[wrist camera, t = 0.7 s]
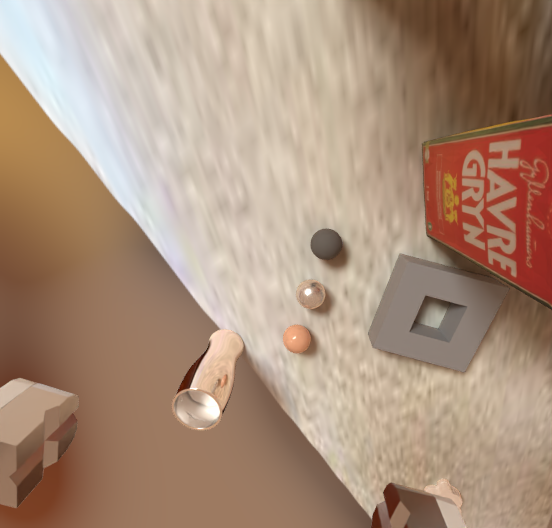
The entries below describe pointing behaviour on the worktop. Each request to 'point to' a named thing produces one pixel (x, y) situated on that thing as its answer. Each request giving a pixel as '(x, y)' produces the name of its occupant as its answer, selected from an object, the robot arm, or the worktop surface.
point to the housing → (456, 323)
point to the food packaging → (495, 200)
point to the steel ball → (310, 294)
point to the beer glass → (208, 382)
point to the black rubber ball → (326, 244)
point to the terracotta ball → (296, 338)
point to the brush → (445, 491)
